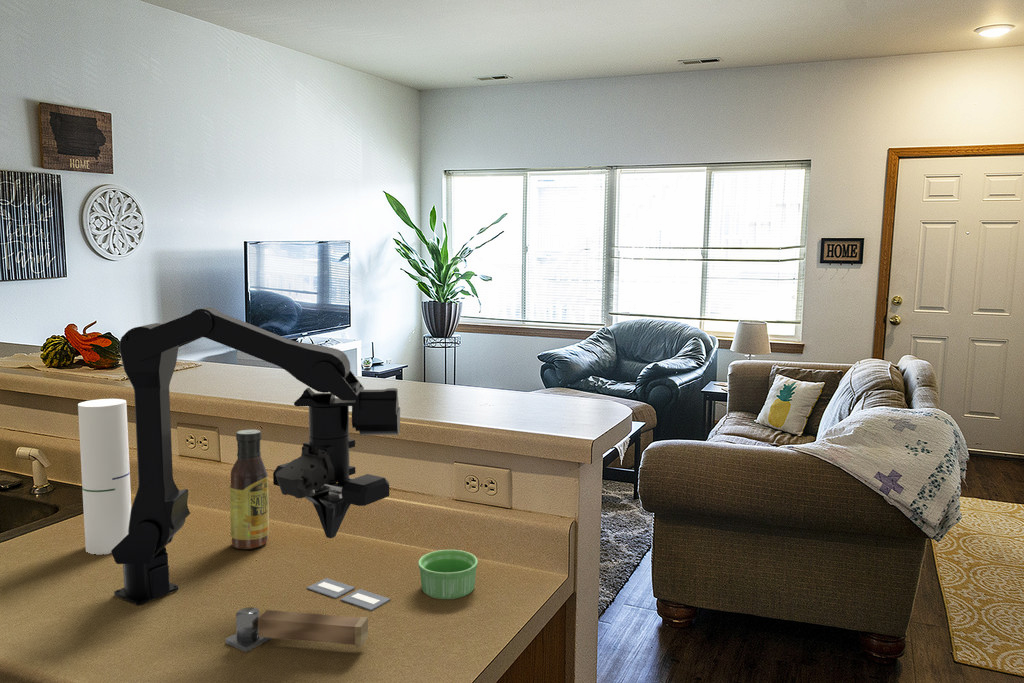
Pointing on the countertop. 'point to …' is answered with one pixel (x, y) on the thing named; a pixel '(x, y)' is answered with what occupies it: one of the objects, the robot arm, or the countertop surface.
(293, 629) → the bar
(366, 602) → the label tile
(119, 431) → the cylindrical container
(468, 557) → the ramekin
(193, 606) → the countertop surface
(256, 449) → the sauce bottle
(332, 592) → the label tile
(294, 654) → the countertop surface
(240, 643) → the post on base plate
